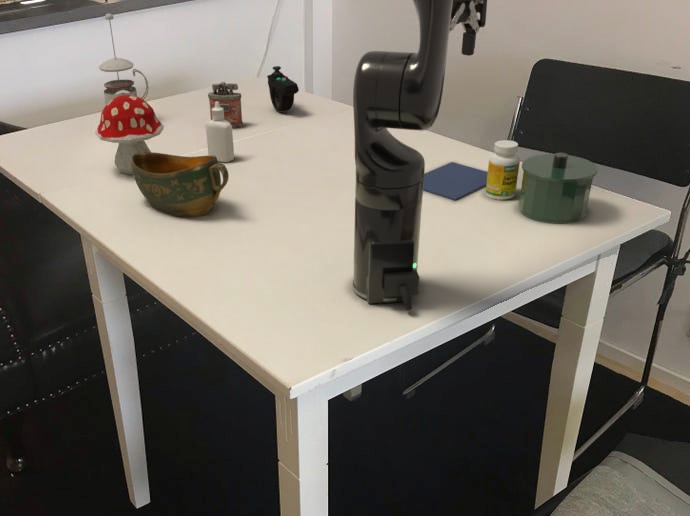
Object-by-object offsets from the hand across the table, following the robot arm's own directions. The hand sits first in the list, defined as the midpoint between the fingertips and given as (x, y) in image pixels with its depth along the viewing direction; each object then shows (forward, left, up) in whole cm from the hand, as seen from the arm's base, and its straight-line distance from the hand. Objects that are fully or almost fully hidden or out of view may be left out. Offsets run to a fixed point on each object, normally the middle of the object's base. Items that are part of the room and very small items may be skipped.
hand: (453, 59), depth 137 cm
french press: (+46, +66, -22) cm, 84 cm away
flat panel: (-2, -2, -22) cm, 22 cm away
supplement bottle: (-10, -8, -22) cm, 26 cm away
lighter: (+40, +42, -22) cm, 63 cm away
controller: (+49, +28, -22) cm, 61 cm away
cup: (-8, +50, -22) cm, 56 cm away
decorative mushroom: (+14, +61, -22) cm, 67 cm away
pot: (-18, -15, -22) cm, 32 cm away
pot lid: (-18, -15, -15) cm, 28 cm away
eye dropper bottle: (+17, +43, -22) cm, 52 cm away
